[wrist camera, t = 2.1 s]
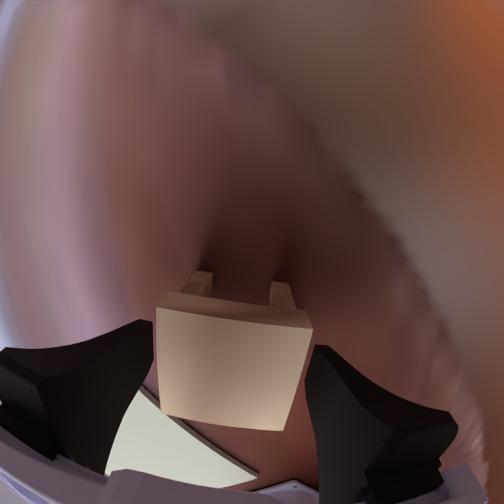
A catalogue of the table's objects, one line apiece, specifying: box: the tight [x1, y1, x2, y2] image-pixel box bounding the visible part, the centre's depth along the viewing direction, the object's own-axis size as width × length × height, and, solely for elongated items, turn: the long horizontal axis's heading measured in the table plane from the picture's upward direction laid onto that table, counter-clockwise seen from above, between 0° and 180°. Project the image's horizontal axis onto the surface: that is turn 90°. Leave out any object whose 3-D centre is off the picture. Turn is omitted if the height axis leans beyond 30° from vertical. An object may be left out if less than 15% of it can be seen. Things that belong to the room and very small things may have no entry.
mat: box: [105, 385, 258, 488], centre depth 18 cm, size 17×17×1 cm
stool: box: [156, 271, 313, 431], centre depth 12 cm, size 5×5×6 cm
